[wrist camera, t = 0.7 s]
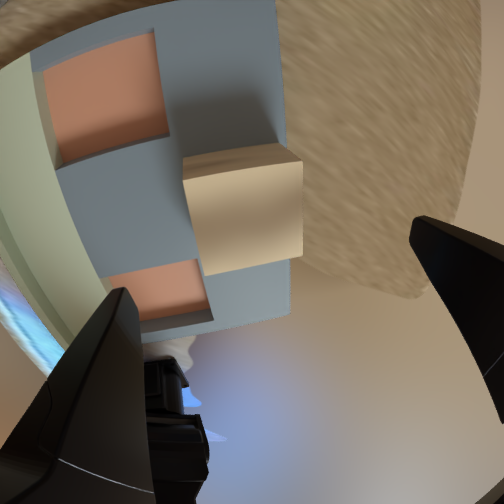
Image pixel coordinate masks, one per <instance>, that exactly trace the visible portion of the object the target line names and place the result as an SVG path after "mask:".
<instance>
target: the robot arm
mask: <svg viewBox="0 0 504 504" xmlns="http://www.w3.org/2000/svg"><path fill="white" fill-rule="evenodd" d="M409 243H410V246H411V247H412V249H413V251H414V253H415V254H416V256H417V258H418V260H419V261H420V263H421V265H422V267H423V269H424V271H425V272H426V274H427V276H428V278H429V280H430V281H431V283H432V285H433V286H434V288H435V289H436V291H437V292H438V294H439V296H440V297H441V299H442V301H443V302H444V304H445V305H446V307H447V309H448V311H449V312H450V314H451V316H452V318H453V319H454V321H455V323H456V324H457V326H458V328H459V330H460V332H461V334H462V336H463V337H464V339H465V341H466V343H467V345H468V347H469V349H470V351H471V353H472V355H473V357H474V359H475V361H476V363H477V365H478V367H479V369H480V372H481V374H482V376H483V379H484V381H485V383H486V385H487V388H488V390H489V393H490V395H491V397H492V400H493V402H494V405H495V408H496V410H497V413H498V415H499V418H500V421H501V423H502V424H504V245H502V244H499V243H497V242H495V241H492V240H490V239H487V238H485V237H482V236H480V235H477V234H475V233H472V232H470V231H467V230H464V229H462V228H459V227H456V226H454V225H451V224H448V223H445V222H442V221H440V220H437V219H434V218H431V217H428V216H425V215H423V216H418V217H415V218H414V219H413V222H412V226H411V231H410V236H409ZM186 387H189V383H188V381H187V379H186V378H185V376H184V374H183V372H182V370H181V369H180V367H179V365H178V363H177V361H176V360H174V359H169V360H163V361H156V362H149V363H144V360H143V350H142V341H141V331H140V319H139V311H138V308H137V306H136V304H135V302H134V300H133V298H132V296H131V295H130V293H129V291H128V289H127V288H126V287H119V288H114V289H112V290H111V291H110V292H109V294H108V295H107V296H106V297H105V299H104V300H103V301H102V302H101V304H100V305H99V306H98V308H97V309H96V310H95V312H94V313H93V314H92V315H91V317H90V318H89V319H88V321H87V322H86V323H85V325H84V326H83V328H82V329H81V330H80V332H79V333H78V334H77V336H76V337H75V339H74V340H73V341H72V343H71V344H70V346H69V347H68V348H67V350H66V351H65V353H64V354H63V356H62V357H61V359H60V360H59V361H58V363H57V364H56V366H55V367H54V369H53V370H52V372H51V373H50V375H49V376H48V378H47V381H45V383H44V384H43V386H42V387H41V389H40V391H39V392H38V394H37V395H36V397H35V398H34V400H33V402H32V403H31V405H30V406H29V407H28V409H27V410H26V412H25V413H24V415H23V416H22V418H21V419H20V421H19V422H18V424H17V425H16V427H15V428H14V429H13V431H12V432H11V434H10V435H9V437H8V438H7V440H6V441H5V443H4V445H3V446H2V448H1V449H0V504H196V497H197V495H198V493H199V491H200V489H201V486H202V485H203V482H204V481H205V480H206V479H207V476H208V473H209V471H208V467H207V463H208V462H209V445H208V440H207V437H206V434H205V431H204V427H203V424H202V420H201V417H200V414H195V415H185V414H184V407H183V397H182V388H186ZM475 504H504V478H503V479H502V480H501V481H500V482H499V483H498V484H497V485H496V486H495V487H494V488H492V489H491V490H490V491H489V492H488V493H487V494H486V495H485V496H483V497H482V498H481V499H480V500H479V501H477V502H476V503H475Z"/></svg>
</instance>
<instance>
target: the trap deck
mask: <svg viewBox="0 0 504 504" xmlns="http://www.w3.org/2000/svg"><path fill="white" fill-rule="evenodd" d="M271 143H280V144H281V145H283V146H284V147H285V148H287V142H286V124H285V108H284V93H283V80H282V67H281V55H280V44H279V34H278V24H277V15H276V6H275V0H178V1H172V2H167V3H162V4H157V5H152V6H148V7H144V8H140V9H136V10H132V11H129V12H125V13H122V14H118V15H115V16H112V17H109V18H106V19H103V20H100V21H97V22H94V23H92V24H89V25H86V26H84V27H81V28H79V29H76V30H74V31H71V32H69V33H67V34H65V35H62V36H60V37H58V38H56V39H54V40H52V41H50V42H48V43H46V44H44V45H42V46H40V47H38V48H36V49H34V50H32V51H30V52H29V53H27V54H25V55H23V56H22V57H20V58H18V59H16V60H15V61H13V62H11V63H10V64H8V65H7V66H5V67H4V68H2V69H1V70H0V257H1V259H2V261H3V262H4V264H5V266H6V268H7V269H8V271H9V273H10V275H11V276H12V278H13V280H14V281H15V283H16V284H17V286H18V288H19V289H20V291H21V292H22V294H23V295H24V297H25V298H26V300H27V301H28V303H29V304H30V306H31V307H32V309H33V310H34V312H35V313H36V314H37V316H38V317H39V319H40V320H41V321H42V323H43V324H44V325H45V327H46V328H47V329H48V331H49V332H50V333H51V334H52V336H53V337H54V338H55V339H56V341H57V342H58V343H59V344H60V346H61V347H62V348H63V349H64V350H65V351H66V350H67V348H68V347H69V346H70V344H71V343H72V341H73V340H74V339H75V337H76V336H77V334H78V333H79V332H80V330H81V329H82V328H83V326H84V325H85V323H86V322H87V321H88V319H89V318H90V317H91V315H92V314H93V313H94V312H95V310H96V309H97V308H98V306H99V305H100V304H101V302H102V301H103V300H104V299H105V297H106V296H107V295H108V294H109V292H110V291H111V290H112V289H114V288H119V287H126V288H127V289H128V291H129V293H130V295H131V296H132V298H133V300H134V302H135V304H136V306H137V308H138V311H139V319H140V331H141V341H142V344H145V343H152V342H158V341H164V340H170V339H176V338H182V337H187V336H193V335H198V334H203V333H208V332H213V331H218V330H223V329H228V328H233V327H238V326H242V325H247V324H251V323H256V322H260V321H264V320H269V319H273V318H277V317H281V316H285V315H289V314H290V259H285V260H280V261H276V262H271V263H266V264H262V265H257V266H252V267H247V268H243V269H238V270H233V271H228V272H223V273H218V274H214V275H209V276H205V275H204V271H203V267H202V263H201V259H200V255H199V251H198V247H197V243H196V239H195V234H194V230H193V226H192V221H191V217H190V213H189V208H188V204H187V199H186V194H185V190H184V185H183V158H185V157H190V156H195V155H200V154H206V153H211V152H217V151H223V150H229V149H235V148H242V147H249V146H256V145H263V144H271Z"/></svg>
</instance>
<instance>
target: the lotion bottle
mask: <svg viewBox="0 0 504 504" xmlns="http://www.w3.org/2000/svg"><path fill="white" fill-rule="evenodd" d="M7 1H8V0H0V7H1V6H3V5H4V4H5V3H6V2H7Z"/></svg>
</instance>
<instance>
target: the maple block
mask: <svg viewBox="0 0 504 504" xmlns="http://www.w3.org/2000/svg"><path fill="white" fill-rule="evenodd" d="M183 185H184V190H185V194H186V199H187V204H188V208H189V213H190V217H191V221H192V226H193V230H194V234H195V239H196V243H197V247H198V251H199V255H200V259H201V263H202V267H203V271H204V275H205V276H209V275H214V274H218V273H223V272H228V271H233V270H238V269H243V268H247V267H252V266H257V265H262V264H266V263H271V262H276V261H280V260H285V259H290V258H294V257H299V256H303V161H302V160H301V159H300V158H298V157H297V156H296V155H295V154H293V153H292V152H291V151H289V150H288V149H287V148H285V147H284V146H283V145H281V144H280V143H271V144H263V145H256V146H249V147H242V148H235V149H229V150H223V151H217V152H211V153H206V154H200V155H195V156H190V157H185V158H183Z"/></svg>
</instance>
